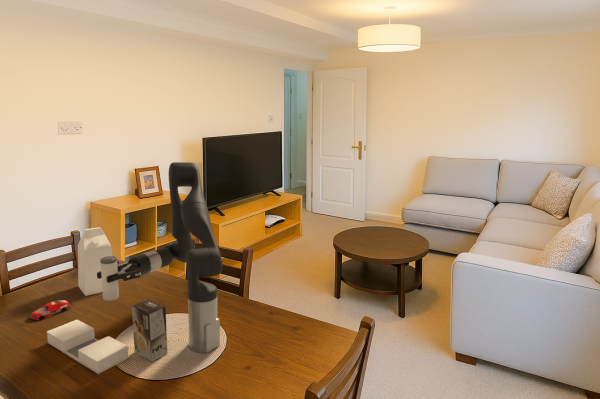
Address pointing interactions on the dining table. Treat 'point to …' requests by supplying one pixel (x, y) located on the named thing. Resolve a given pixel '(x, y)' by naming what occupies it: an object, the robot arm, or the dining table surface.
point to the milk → (92, 259)
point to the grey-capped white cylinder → (106, 270)
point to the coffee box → (149, 329)
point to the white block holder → (87, 346)
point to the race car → (50, 310)
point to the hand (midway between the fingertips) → (102, 277)
